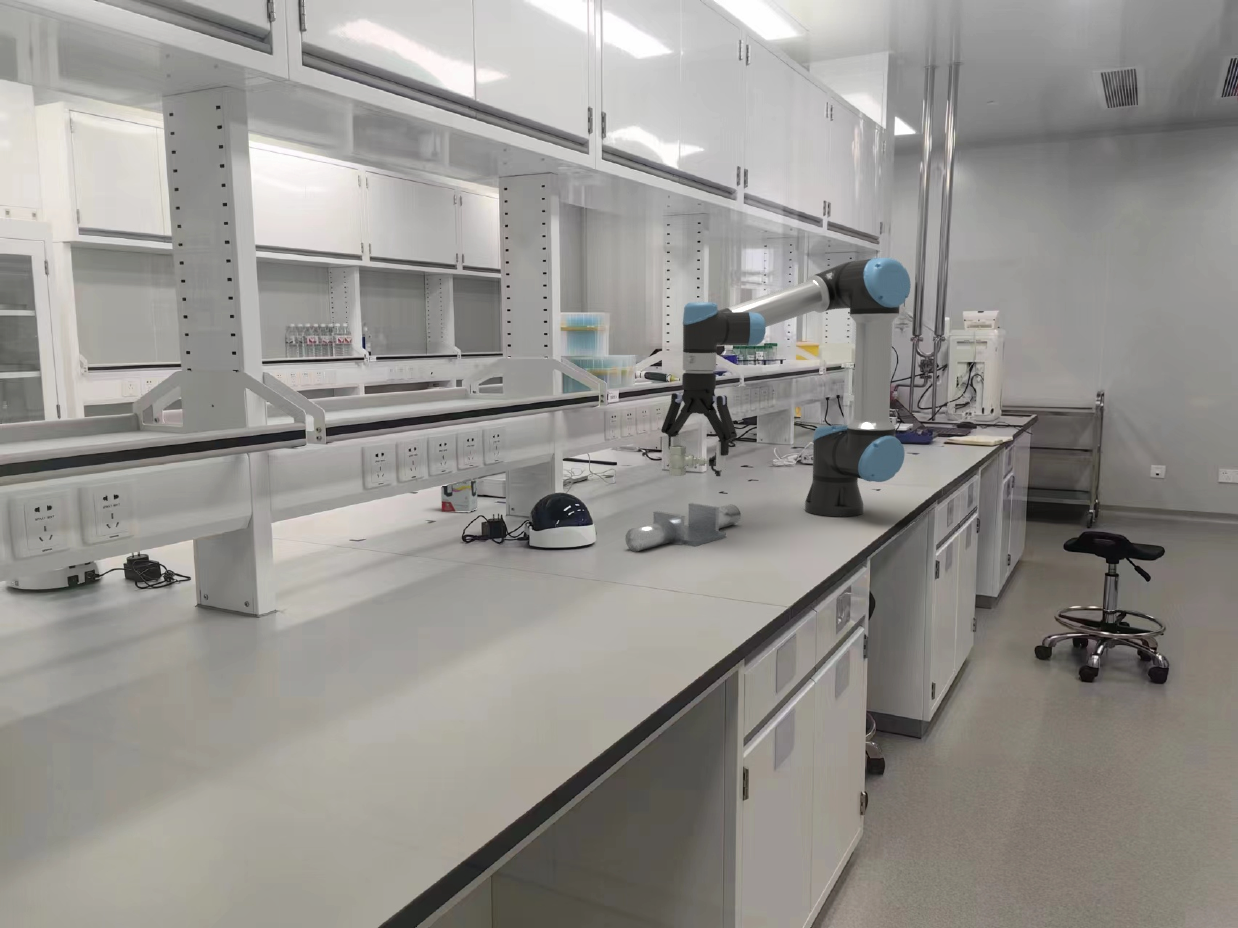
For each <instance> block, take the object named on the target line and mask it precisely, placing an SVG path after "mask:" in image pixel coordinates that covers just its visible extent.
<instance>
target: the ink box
mask: <svg viewBox="0 0 1238 928" xmlns="http://www.w3.org/2000/svg"><path fill="white" fill-rule="evenodd" d="M440 490H441V491H440V495H441V498H440V499H441V512H445V511H473V510H474V509H476V508H477V509H478V479H477V480H474V481H471V482H463V483H461V484H458V485H450V486H442V487H440Z"/></svg>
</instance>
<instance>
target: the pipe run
mask: <svg viewBox="0 0 1238 928" xmlns="http://www.w3.org/2000/svg"><path fill="white" fill-rule="evenodd" d="M741 517H742V515H741V511H740V508H739V507H738V506H737V505H735V504H732V503H731V504H727V505H723V506H714V505H713V506H712V505H708V504H702V503H694V502H690V503H688V522H687V523H688V524H687V525H686V524H685V520H686V519H685V515H682V514H677V513H676V514H675V513H670V512H665V511H658V510H656V511H653V523H650V524H646V525H645V524H644V525H642V526H637V527H634V528H630V529H628V531H626V534H625V539H624V540H625V543H626V546H627V547H628V549H629V550H630V551H631V552H632V551H633V552H639V551H643V550H646V549H650V548H655V547H658V546H661V545H664V544H667V543H669V544H672V545H673V544H674V545H679V546H682V545H686V546H692V547H697V546H700V545H705V544H708V543H710V542H714V541H717V540H721V539H724V538H727V533H726V532H722V531H719V529H722V528H726V527H729V526H730V527H731V526H732V525H733V526H734V525H736V524H738V523H739V521H741Z"/></svg>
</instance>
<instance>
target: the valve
mask: <svg viewBox="0 0 1238 928" xmlns="http://www.w3.org/2000/svg"><path fill="white" fill-rule="evenodd" d="M668 465H669V475H670V476H671V477H672V476H673V477H683V476H685V475H686V472H687V471H686V470H687V469H686V467H688V468H691V469H692V468H694V466H697V465H698V466H706V465H708V467H710V470H711V471H712V472H714V475H715V477H721V475H722V474H721V473H722V471H723V470H720V471H717V470H716V468H714V467H716V451H715V454H714V455H712V456H711V457H709V458H708V459H706V457H705V456H704V457H703V456H702V457H701V456H699V457H698V458H697V457H696V456H695V455H694V454H688V455H687V447H686V446H685V445H680V446H679V445H675V446H670V450H669V457H668Z"/></svg>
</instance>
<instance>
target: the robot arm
mask: <svg viewBox="0 0 1238 928" xmlns="http://www.w3.org/2000/svg"><path fill="white" fill-rule="evenodd" d="M910 293H911V278H910V274H909V272H908V271H907V269H906V267H904V266H903V264H902V263H901V262H900V261H898V260H897V259H895V258H889V257H874V258H870V259H869V258H868V259H862V260H861V259H860V260H853V261H847V262H843V263H841V264H839V265H836V266H834V267H831V268H827V269H826V270H824V271H821V272H818V273H816V274H813V275H810V276H808V278H807V279H806V281H804V282H802V283H798V284H795V285H792V286H789V287H786V288H783V289H780V290H776V291H773V292H771V293H768V294H765V295H761V296H758V297H755V298H753V299H749V300H747V301H743V302H740V303H737V304H734V305H731V306H728V307H725V308H722V309H718V305H717V303H715V302H709V301H708V302H704V301H703V302H699V301H697V302H696V301H695V302H688V303H686V304H685V305H684V308H683V315H682V316H683V318H682V349H683V350H682V370H683V371H684V373H683V374H682V375H681V376H682V378H681V379H682V383H681V385H682V386H681V387H682V389H683V393H681V392H675V393H671V397H670V405H669V407H668V410H667V413H666V416H665V418H664V420H663V424H662V427H661V430H660V432H661V433H663V434H666V435H667V436H668V447H667V448H668V451H670V446H675V445H679V446H681V435H680V434H679V433H680V431H681V430H682V428H683V426H685V424H686V422H687V420H688V419H689V417H690V416H691V415H693V414H697V415H703V416H704V417H705V418H706V419H707V420H708V422H709V424H710V425H711V427H712V429H713V431H714V432H715V434H716V435H717V438H718V440H716V442H715V444H716V445H715V446H716V448H715V452H716V466H715V469H716V470H717V471H720V470H722V471H724V470H726V464H727V463H726V461H727V460H726V457H727V456H728V455H729V447H730V444H729V443H730V440H734V439H736V438H737V437H738V435H737V430H736V428H735V424H734V422H733V419H732V416H731V413H730V412H731V411H730V410H729V407H728V396H727V395H716V393H715V390H716V385H717V383H716V382H717V375H716V373H714V372H715V371H716V370H717V347H718V346H734V347H735V346H746V347H750V346H757V345H760V344H761V343H762V342H763V340H764V339H765V336H766V332H767V331H766V329H767V327H770V326H773V325H776V324H778V323H781V322H782V323H783V322H785V321H788V320H790V319H793V318H794V319H795V318H796V317H799V316H804V315H806V314H808V313H811V312H816V313H821V314H822V313H824V312H827V311H832V310H839V309H842V310H843V309H849V316H850V318H851V319H852V320H853V321H854V322H855V343H854V344H855V345H854V346H855V349H854V351H855V352H854V356H855V357H854V384H853V385H854V387H853V389H854V390H853V415H852V416H853V419H852V420H851V421H850V422H849V423H848V424H845V425H844V424H842V425H828V426H827V425H826V426H824V425H823V426H818V427H816V428H815V430H814V433H813V434H814V435H813V440H812V443H813V448H812V449H813V450H812V451H813V453H812V454H813V455H812V482H811V485H810V488H809V490H808V493H807V496H806V499H805V502H804V511H805V512H808V514H809V513H810V514H813V515H816V516H817V515H818V516H819V515H820V516H827V517H854V516H860V515H862V514H863V513H864V502H863V498H862V495H861V491H860V487H859V484H858V483H859V480H858V479H862V480H863V481H866V482H875V483H882V482H883V483H884V482H886V481H890V480H892V479H893V478H894V477H895V475H896V474H897V473H899V471H900V470H901V469H902V467H903V464H904V461H905V455H906V454H905V448H904V445H903V444H902V443H901V441H900V440H899V438H898V437H896V426H895V424H893V422H891V419H890V407H891V406H890V403H891V377H892V375H891V373H892V351H893V350H892V348H893V347H892V344H893V323H894V321H895V319H896V318H898V317H899V316H900V309H901V308H900V307H901V305H902V304H905V302H906V300H907V299H908V297H909V295H910ZM682 403H684V404H683V406H682V408H681V405H682ZM714 404H715V405H716V408H717V409H716V408H715V406H714ZM679 411H680V413H679Z"/></svg>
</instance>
